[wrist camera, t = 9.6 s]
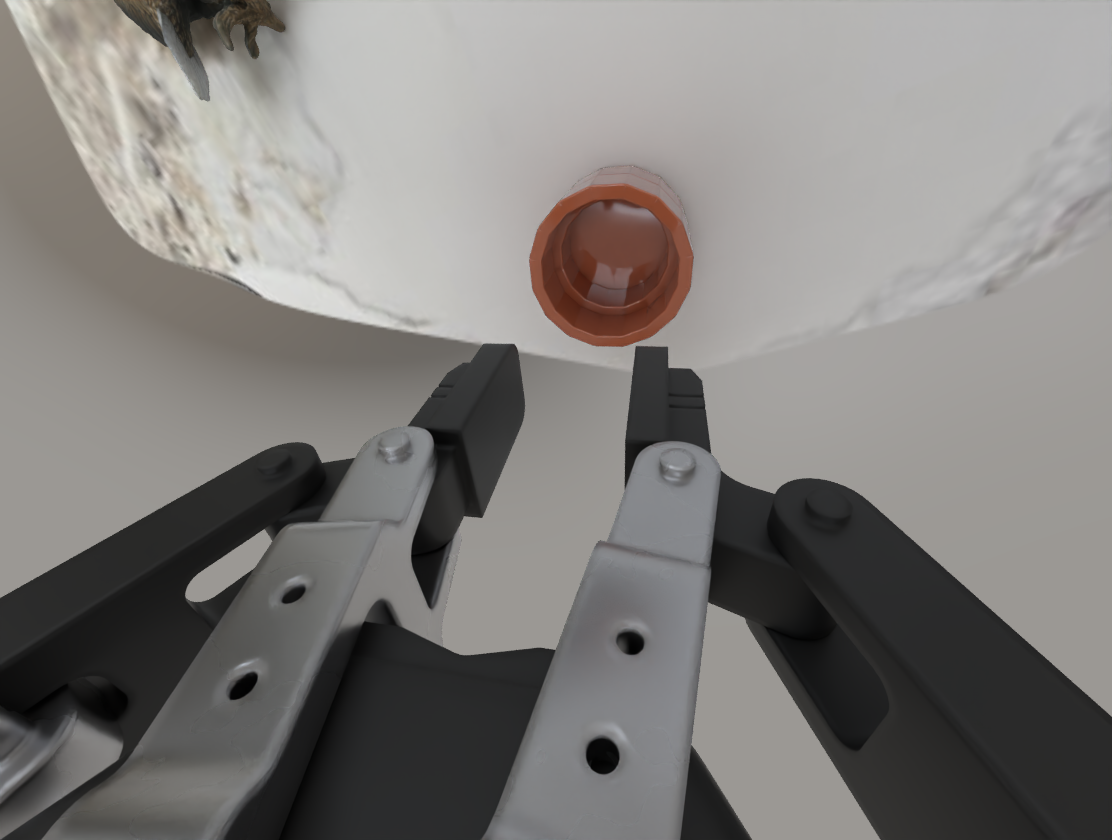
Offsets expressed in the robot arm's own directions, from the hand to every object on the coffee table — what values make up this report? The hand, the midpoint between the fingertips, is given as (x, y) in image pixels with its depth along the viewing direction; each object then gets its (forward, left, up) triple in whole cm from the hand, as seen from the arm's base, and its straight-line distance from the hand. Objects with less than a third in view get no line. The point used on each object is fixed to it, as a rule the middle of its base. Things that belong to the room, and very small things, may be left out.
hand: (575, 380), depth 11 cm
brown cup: (0, 0, -13) cm, 13 cm away
